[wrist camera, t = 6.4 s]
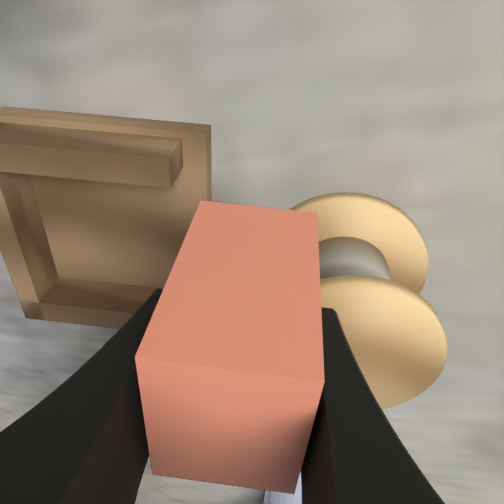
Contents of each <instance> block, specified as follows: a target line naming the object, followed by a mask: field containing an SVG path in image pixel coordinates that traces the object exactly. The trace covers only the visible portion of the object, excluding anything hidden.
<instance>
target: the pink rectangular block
mask: <svg viewBox="0 0 504 504" xmlns="http://www.w3.org/2000/svg"><path fill="white" fill-rule="evenodd" d="M135 362H136V369H137V375H138V382H139V389H140V395H141V402H142V409H143V415H144V422H145V429H146V435H147V442H148V449H149V455H150V462H151V469H152V474H153V475H160V476H167V477H174V478H182V479H189V480H196V481H203V482H210V483H217V484H224V485H231V486H239V487H246V488H253V489H260V490H267V491H274V492H281V493H288V494H295V490H296V486H297V482H298V479H299V475H300V471H301V467H302V464H303V460H304V456H305V453H306V449H307V445H308V441H309V438H310V434H311V430H312V427H313V423H314V419H315V415H316V412H317V408H318V404H319V400H320V397H321V393H322V389H323V386H324V382H325V379H324V356H323V334H322V311H321V288H320V266H319V243H318V220H317V213H312V212H303V211H294V210H284V209H275V208H266V207H257V206H248V205H239V204H230V203H221V202H212V201H202V200H201V201H200V203H199V206H198V208H197V210H196V213H195V215H194V218H193V220H192V222H191V225H190V227H189V229H188V232H187V234H186V237H185V239H184V241H183V244H182V246H181V248H180V251H179V253H178V256H177V258H176V260H175V263H174V265H173V267H172V270H171V272H170V275H169V277H168V279H167V282H166V284H165V286H164V289H163V291H162V294H161V296H160V298H159V301H158V303H157V306H156V308H155V310H154V313H153V315H152V317H151V320H150V322H149V325H148V327H147V329H146V332H145V334H144V336H143V339H142V341H141V344H140V346H139V348H138V351H137V353H136V355H135Z"/></svg>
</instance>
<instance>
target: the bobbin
mask: <svg viewBox="0 0 504 504" xmlns="http://www.w3.org/2000/svg"><path fill="white" fill-rule="evenodd" d="M290 210H294V211H303V212H312V213H317V220H318V243H319V266H320V288H321V307H324V308H332V309H334V310H335V311H336V312H337V315H338V318H339V321H340V324H341V326H342V329H343V332H344V334H345V337H346V339H347V341H348V344H349V346H350V348H351V351H352V353H353V355H354V357H355V359H356V361H357V364H358V366H359V368H360V370H361V372H362V374H363V376H364V378H365V380H366V382H367V384H368V386H369V388H370V389H371V391H372V393H373V395H374V397H375V399H376V400H377V402H378V404H379V406H380V407H381V409H386V408H390V407H393V406H396V405H399V404H401V403H404V402H406V401H408V400H410V399H412V398H414V397H416V396H417V395H419V394H420V393H422V392H423V391H425V390H426V389H427V388H428V387H429V386H430V385H432V384H433V382H434V381H435V380H436V379H437V378H438V376H439V375H440V373H441V372H442V370H443V368H444V365H445V362H446V358H447V342H446V338H445V335H444V332H443V329H442V326H441V324H440V321H439V319H438V317H437V314H436V312H435V311H434V309H433V308H432V307H431V305H430V304H429V303H428V302H427V301H426V300H425V299H424V298H423V297H422V296H420V295H419V293H420V292H421V290H422V288H423V286H424V283H425V280H426V277H427V272H428V255H427V251H426V247H425V245H424V242H423V240H422V238H421V235H420V233H419V231H418V229H417V227H416V226H415V224H414V223H413V221H412V220H411V219H410V218H409V217H408V216H407V215H406V214H405V213H404V212H403V211H401V210H400V209H399V208H397V207H396V206H394V205H392V204H391V203H389V202H386V201H384V200H382V199H379V198H376V197H373V196H369V195H364V194H358V193H335V194H328V195H323V196H319V197H316V198H312V199H309V200H307V201H305V202H303V203H300V204H298V205H297V206H295V207H293V208H292V209H290Z"/></svg>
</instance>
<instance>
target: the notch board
mask: <svg viewBox="0 0 504 504" xmlns="http://www.w3.org/2000/svg"><path fill="white" fill-rule="evenodd" d="M201 200H202V201H211V125H204V124H193V123H182V122H170V121H159V120H148V119H136V118H125V117H114V116H102V115H91V114H80V113H68V112H57V111H46V110H34V109H23V108H12V107H2V108H0V250H1V253H2V256H3V258H4V261H5V264H6V266H7V269H8V272H9V274H10V277H11V280H12V282H13V285H14V288H15V290H16V293H17V296H18V298H19V301H20V304H21V306H22V309H23V312H24V314H25V317H26V318H30V319H39V320H48V321H57V322H65V323H74V324H83V325H91V326H100V327H109V328H117V329H121V328H122V327H123V325H124V324H125V323H126V322H127V321H128V320H129V319H130V318H131V317H132V316H133V315H134V314H135V312H136V311H137V310H138V309H139V308H140V307H141V306H142V305H143V303H144V302H145V301H146V300H147V299H148V298H149V297H150V295H151V294H152V293H153V292H154V291H155V290H157V289H158V288H160V289H164V286H165V284H166V282H167V279H168V277H169V275H170V272H171V270H172V267H173V265H174V263H175V260H176V258H177V256H178V253H179V251H180V248H181V246H182V244H183V241H184V239H185V237H186V234H187V232H188V229H189V227H190V225H191V222H192V220H193V218H194V215H195V213H196V210H197V208H198V206H199V203H200V201H201Z"/></svg>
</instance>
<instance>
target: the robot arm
mask: <svg viewBox="0 0 504 504" xmlns="http://www.w3.org/2000/svg"><path fill="white" fill-rule="evenodd" d="M162 291H163V289H160V288H158V289H157V290H155V291H154V292H153V293H152V294H151V295H150V297H149V298H148V299H147V300H146V301H145V302H144V303H143V305H142V306H141V307H140V308H139V309H138V310H137V311H136V312H135V314H134V315H133V316H132V317H131V318H130V319H129V320H128V321H127V322H126V323H125V324H124V325H123V327H122V328H121V329H120V330H119V331H118V332H117V333H116V334H115V335H114V336H113V337H112V338H111V339H110V340H109V341H108V342H107V343H106V344H105V345H104V346H103V347H102V348H101V349H100V350H99V351H98V352H97V353H96V354H95V355H94V356H93V357H91V358H90V359H89V360H88V361H87V362H86V363H85V364H84V365H83V366H82V367H81V368H80V369H78V370H77V371H76V372H75V373H74V374H73V375H72V376H71V377H70V378H69V379H67V380H66V381H65V382H64V383H63V384H62V385H60V386H59V387H58V388H57V389H56V390H55V391H53V392H52V393H51V394H50V395H48V396H47V397H46V398H45V399H43V400H42V401H41V402H40V403H38V404H37V405H36V406H35V407H33V408H32V409H31V410H30V411H28V412H27V413H26V414H24V415H23V416H22V417H20V418H19V419H17V420H16V421H15V422H13V423H12V424H11V425H9V426H8V427H7V428H5V429H4V430H3V431H1V432H0V504H135V500H136V496H137V492H138V489H139V485H140V481H141V478H142V475H143V472H144V469H145V466H146V463H147V460H148V457H149V449H148V442H147V435H146V429H145V422H144V415H143V409H142V402H141V395H140V389H139V382H138V375H137V369H136V362H135V355H136V353H137V351H138V348H139V346H140V344H141V341H142V339H143V336H144V334H145V332H146V329H147V327H148V325H149V322H150V320H151V317H152V315H153V313H154V310H155V308H156V306H157V303H158V301H159V298H160V296H161V294H162ZM321 311H322V334H323V356H324V379H325V382H324V386H323V389H322V393H321V397H320V400H319V404H318V408H317V412H316V415H315V419H314V423H313V427H312V430H311V434H310V438H309V441H308V445H307V449H306V453H305V456H304V460H303V464H302V467H301V471H300V475H299V479H298V482H297V486H296V490H295V494H288V493H281V492H274V491H267V490H265V496H264V503H263V504H445V503H444V502H443V500H442V499H441V498H440V497H439V495H438V494H437V493H436V491H435V490H434V489H433V487H432V486H431V485H430V483H429V482H428V480H427V479H426V478H425V476H424V475H423V473H422V472H421V470H420V469H419V468H418V466H417V465H416V463H415V462H414V460H413V459H412V457H411V456H410V454H409V453H408V451H407V450H406V448H405V447H404V445H403V444H402V442H401V441H400V439H399V438H398V436H397V434H396V433H395V431H394V430H393V428H392V426H391V425H390V423H389V421H388V420H387V418H386V416H385V414H384V413H383V411H382V409H381V407H380V406H379V404H378V402H377V400H376V399H375V397H374V395H373V393H372V391H371V389H370V388H369V386H368V384H367V382H366V380H365V378H364V376H363V374H362V372H361V370H360V368H359V366H358V364H357V361H356V359H355V357H354V355H353V353H352V351H351V348H350V346H349V344H348V341H347V339H346V337H345V334H344V332H343V329H342V326H341V324H340V321H339V318H338V315H337V312H336V311H335V310H334V309H332V308H324V307H321Z"/></svg>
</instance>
